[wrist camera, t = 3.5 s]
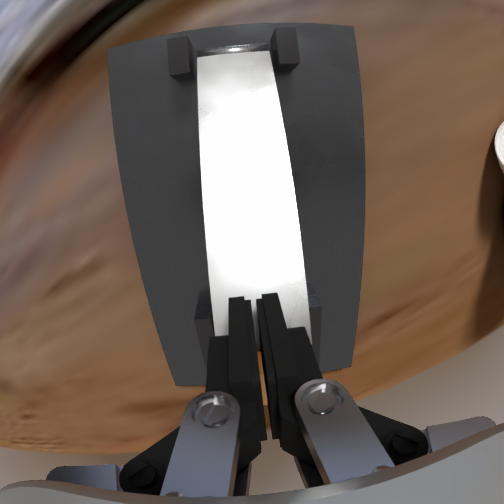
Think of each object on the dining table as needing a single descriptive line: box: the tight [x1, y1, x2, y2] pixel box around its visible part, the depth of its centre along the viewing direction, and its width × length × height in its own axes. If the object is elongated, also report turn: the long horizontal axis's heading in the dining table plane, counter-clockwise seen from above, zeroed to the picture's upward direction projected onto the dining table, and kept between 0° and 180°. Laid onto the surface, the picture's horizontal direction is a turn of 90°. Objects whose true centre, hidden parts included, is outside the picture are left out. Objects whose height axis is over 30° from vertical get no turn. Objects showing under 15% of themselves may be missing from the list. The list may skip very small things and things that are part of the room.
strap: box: [197, 44, 312, 352], centre depth 12 cm, size 4×14×1 cm, turn 5°
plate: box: [107, 23, 365, 386], centre depth 18 cm, size 14×24×4 cm, turn 5°
